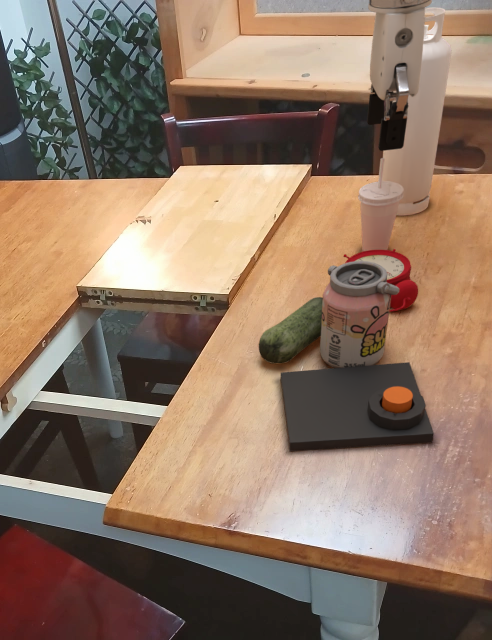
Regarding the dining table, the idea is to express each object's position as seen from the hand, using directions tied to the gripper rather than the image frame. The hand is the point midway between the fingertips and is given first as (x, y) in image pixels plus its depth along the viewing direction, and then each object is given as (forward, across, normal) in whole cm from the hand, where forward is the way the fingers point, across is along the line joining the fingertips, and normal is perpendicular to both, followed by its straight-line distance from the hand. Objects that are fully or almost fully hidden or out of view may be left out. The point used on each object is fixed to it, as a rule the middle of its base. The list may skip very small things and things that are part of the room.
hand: (384, 135), depth 103 cm
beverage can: (+18, -28, +6) cm, 33 cm away
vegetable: (+18, -24, +13) cm, 33 cm away
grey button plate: (+17, -39, +8) cm, 44 cm away
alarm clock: (+18, -14, +1) cm, 22 cm away
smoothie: (+18, 0, -1) cm, 18 cm away
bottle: (+18, +15, -8) cm, 24 cm away
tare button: (+15, -42, +4) cm, 45 cm away
